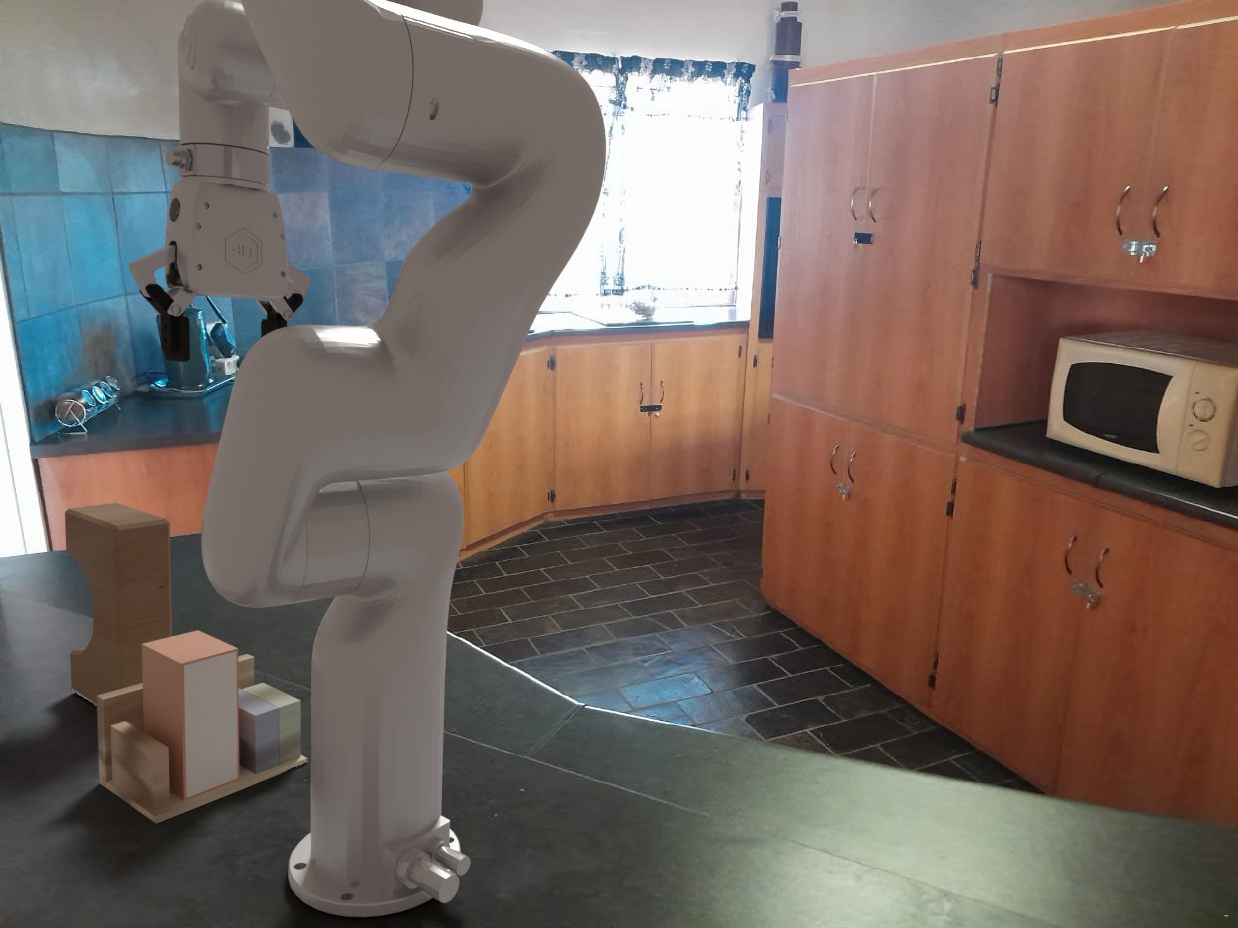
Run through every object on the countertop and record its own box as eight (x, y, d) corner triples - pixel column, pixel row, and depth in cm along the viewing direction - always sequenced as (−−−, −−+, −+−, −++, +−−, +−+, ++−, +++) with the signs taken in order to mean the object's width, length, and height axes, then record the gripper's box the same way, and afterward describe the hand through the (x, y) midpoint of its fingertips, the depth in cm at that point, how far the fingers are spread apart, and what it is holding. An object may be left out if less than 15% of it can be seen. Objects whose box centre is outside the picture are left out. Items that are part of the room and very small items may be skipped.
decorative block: (69, 693, 97) (62, 508, 94) (125, 678, 102) (120, 501, 99) (118, 725, 91) (112, 527, 88) (175, 708, 95) (171, 519, 92)
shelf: (307, 762, 85) (307, 680, 84) (156, 823, 74) (154, 729, 73) (247, 731, 91) (247, 653, 90) (99, 783, 80) (96, 695, 79)
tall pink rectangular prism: (239, 779, 81) (238, 648, 79) (184, 800, 77) (181, 663, 75) (199, 755, 85) (197, 630, 83) (145, 774, 81) (141, 643, 79)
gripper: (151, 153, 75) (156, 364, 78) (330, 185, 89) (329, 363, 92) (107, 159, 80) (113, 358, 82) (285, 188, 93) (285, 358, 96)
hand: (227, 360), depth 87 cm, fingers open, 9 cm apart
